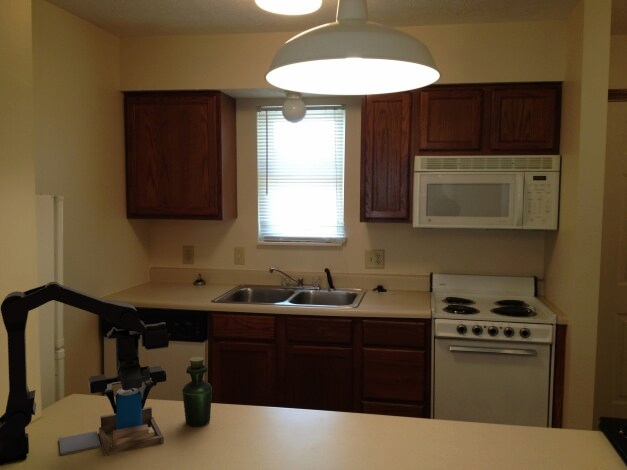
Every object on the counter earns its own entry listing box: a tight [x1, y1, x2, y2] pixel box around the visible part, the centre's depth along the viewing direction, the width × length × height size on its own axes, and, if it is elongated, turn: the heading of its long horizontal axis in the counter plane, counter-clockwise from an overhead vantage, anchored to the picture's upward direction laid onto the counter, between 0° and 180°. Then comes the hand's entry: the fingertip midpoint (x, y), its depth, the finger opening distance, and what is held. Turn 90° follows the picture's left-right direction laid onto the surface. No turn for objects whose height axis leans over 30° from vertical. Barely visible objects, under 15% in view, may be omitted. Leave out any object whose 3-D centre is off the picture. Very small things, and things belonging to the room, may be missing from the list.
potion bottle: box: [181, 356, 213, 428], centre depth 144 cm, size 8×8×18 cm
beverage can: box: [114, 387, 142, 430], centre depth 136 cm, size 6×6×12 cm
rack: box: [98, 406, 165, 456], centre depth 135 cm, size 14×14×4 cm
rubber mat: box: [58, 430, 102, 456], centre depth 132 cm, size 9×9×1 cm
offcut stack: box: [110, 425, 156, 446], centre depth 132 cm, size 10×4×4 cm, turn 118°
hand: (128, 410), depth 136 cm, fingers closed on beverage can, 6 cm apart
